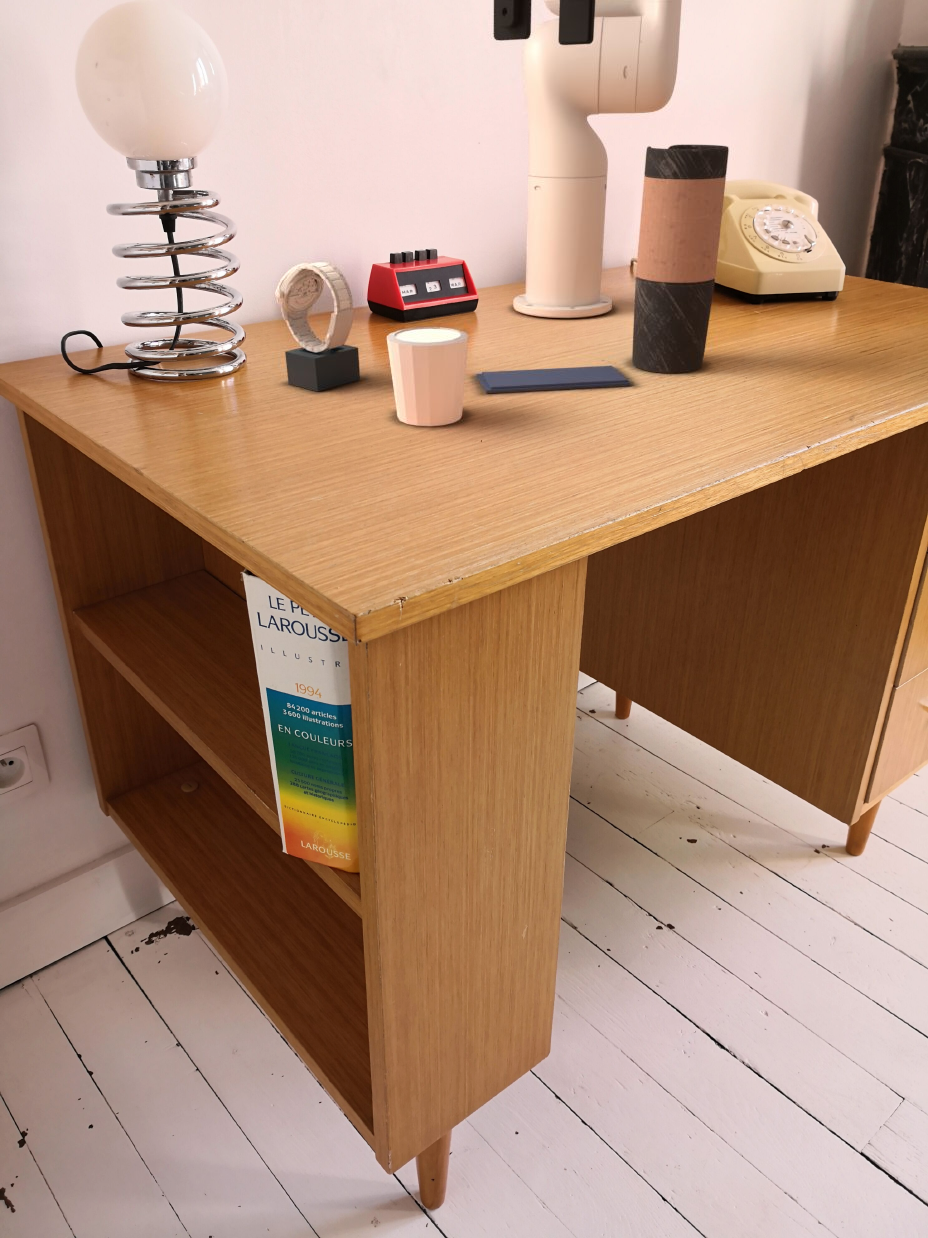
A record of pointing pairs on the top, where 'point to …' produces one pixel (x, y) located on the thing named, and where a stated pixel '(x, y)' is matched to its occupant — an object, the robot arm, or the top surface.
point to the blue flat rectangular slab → (551, 379)
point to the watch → (315, 359)
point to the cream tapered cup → (428, 374)
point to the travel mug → (677, 255)
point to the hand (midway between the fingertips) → (545, 41)
